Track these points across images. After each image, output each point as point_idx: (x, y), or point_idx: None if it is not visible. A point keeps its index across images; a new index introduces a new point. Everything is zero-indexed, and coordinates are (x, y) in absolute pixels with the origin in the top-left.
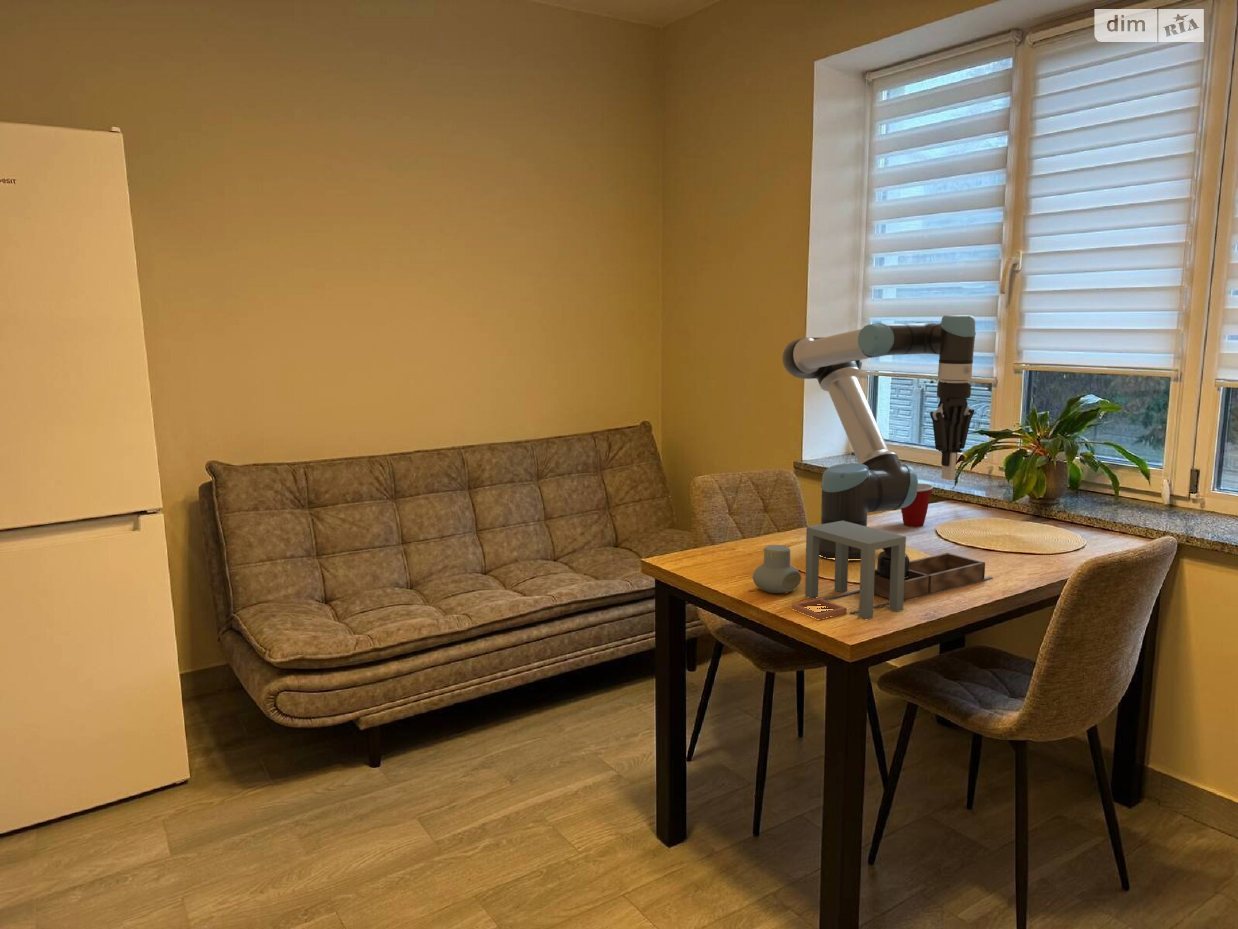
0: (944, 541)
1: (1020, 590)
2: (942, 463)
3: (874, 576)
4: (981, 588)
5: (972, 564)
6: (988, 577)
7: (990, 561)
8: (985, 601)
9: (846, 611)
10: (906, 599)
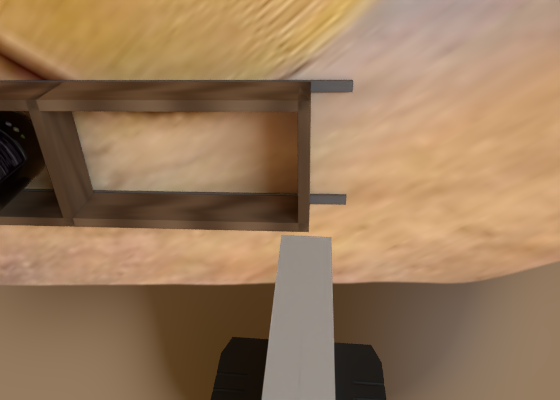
0: None
1: None
2: (222, 362)
3: None
4: (249, 231)
5: (260, 224)
6: (336, 199)
7: (526, 92)
8: (180, 282)
9: None
10: None
